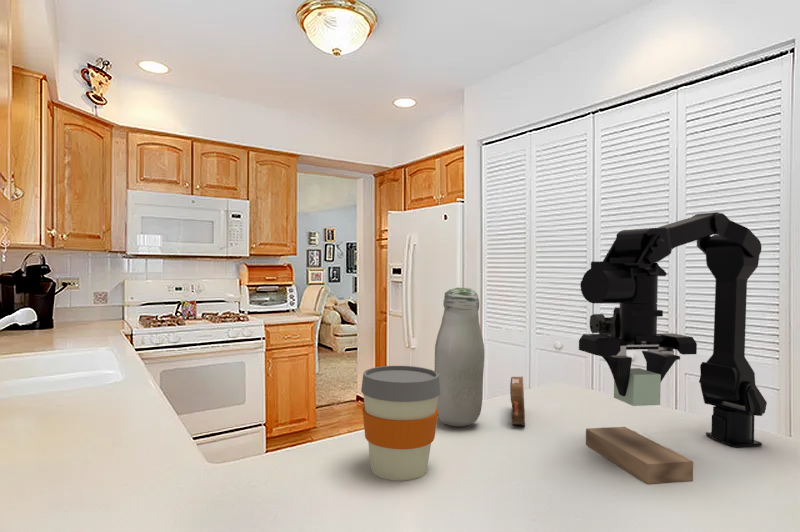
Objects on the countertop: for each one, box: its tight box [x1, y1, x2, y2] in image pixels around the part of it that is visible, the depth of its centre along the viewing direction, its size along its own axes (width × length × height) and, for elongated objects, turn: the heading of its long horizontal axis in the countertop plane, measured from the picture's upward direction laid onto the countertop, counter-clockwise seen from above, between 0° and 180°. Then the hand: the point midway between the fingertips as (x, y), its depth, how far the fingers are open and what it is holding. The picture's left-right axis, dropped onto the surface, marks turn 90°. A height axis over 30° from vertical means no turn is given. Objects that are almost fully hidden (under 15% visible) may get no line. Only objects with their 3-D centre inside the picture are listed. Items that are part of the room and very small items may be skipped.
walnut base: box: [585, 426, 694, 485], centre depth 80 cm, size 8×16×3 cm, turn 11°
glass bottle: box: [433, 287, 486, 428], centre depth 97 cm, size 10×10×28 cm
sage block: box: [613, 367, 662, 407], centre depth 80 cm, size 5×5×5 cm
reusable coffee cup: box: [360, 365, 440, 482], centre depth 75 cm, size 13×13×15 cm
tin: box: [509, 376, 526, 427], centre depth 102 cm, size 15×3×8 cm, turn 165°
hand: (636, 395), depth 80 cm, fingers closed on sage block, 5 cm apart
